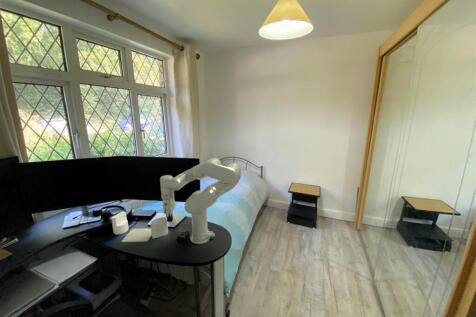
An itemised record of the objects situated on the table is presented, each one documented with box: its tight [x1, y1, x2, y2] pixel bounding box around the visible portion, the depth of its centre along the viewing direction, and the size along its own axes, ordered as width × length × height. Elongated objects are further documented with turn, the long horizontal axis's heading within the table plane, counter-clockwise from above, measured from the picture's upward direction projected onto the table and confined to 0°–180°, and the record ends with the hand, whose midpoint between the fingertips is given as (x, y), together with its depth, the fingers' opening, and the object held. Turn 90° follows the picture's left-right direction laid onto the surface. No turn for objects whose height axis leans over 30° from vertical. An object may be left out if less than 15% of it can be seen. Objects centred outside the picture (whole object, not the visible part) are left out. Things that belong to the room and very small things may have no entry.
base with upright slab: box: [111, 211, 130, 235], centre depth 135 cm, size 9×9×12 cm
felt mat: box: [121, 227, 152, 243], centre depth 131 cm, size 16×14×1 cm
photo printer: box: [150, 216, 169, 240], centre depth 129 cm, size 10×4×12 cm, turn 123°
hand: (170, 221), depth 129 cm, fingers closed
